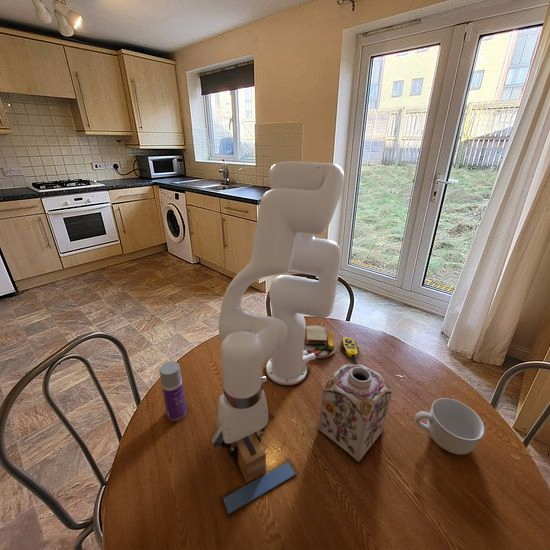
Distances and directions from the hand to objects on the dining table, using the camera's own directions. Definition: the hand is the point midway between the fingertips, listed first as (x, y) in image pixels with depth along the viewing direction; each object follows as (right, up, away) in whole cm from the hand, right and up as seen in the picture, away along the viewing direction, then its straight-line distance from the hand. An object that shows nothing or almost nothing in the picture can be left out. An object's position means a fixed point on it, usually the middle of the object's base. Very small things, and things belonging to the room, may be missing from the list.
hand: (244, 450), depth 65 cm
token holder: (0, -1, 0) cm, 1 cm away
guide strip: (+4, -4, -6) cm, 8 cm away
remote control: (+32, +13, +32) cm, 47 cm away
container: (-18, +4, +10) cm, 21 cm away
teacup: (+47, 0, +5) cm, 47 cm away
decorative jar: (+25, +1, +6) cm, 26 cm away
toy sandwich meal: (+21, +14, +35) cm, 44 cm away
